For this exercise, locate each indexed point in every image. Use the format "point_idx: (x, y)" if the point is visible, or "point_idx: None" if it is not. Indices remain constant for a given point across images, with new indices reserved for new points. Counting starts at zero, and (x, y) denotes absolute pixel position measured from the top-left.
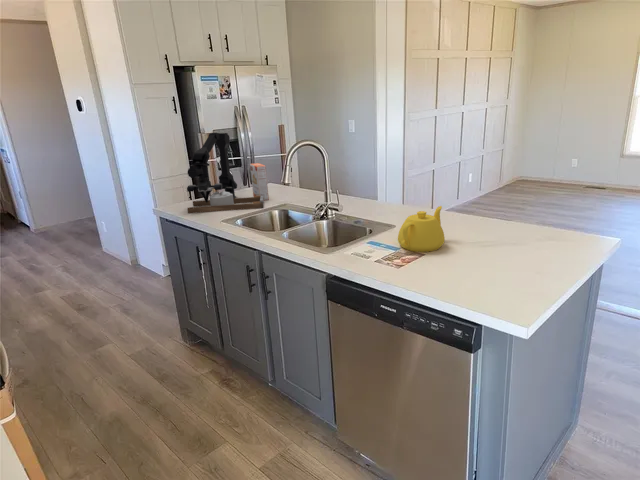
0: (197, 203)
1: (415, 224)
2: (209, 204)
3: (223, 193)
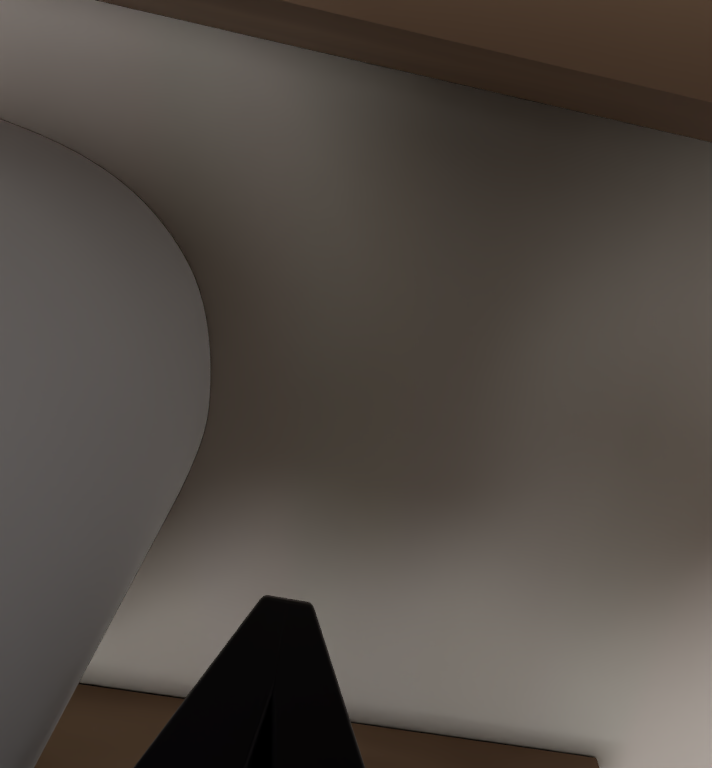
0: None
1: None
2: None
3: None
